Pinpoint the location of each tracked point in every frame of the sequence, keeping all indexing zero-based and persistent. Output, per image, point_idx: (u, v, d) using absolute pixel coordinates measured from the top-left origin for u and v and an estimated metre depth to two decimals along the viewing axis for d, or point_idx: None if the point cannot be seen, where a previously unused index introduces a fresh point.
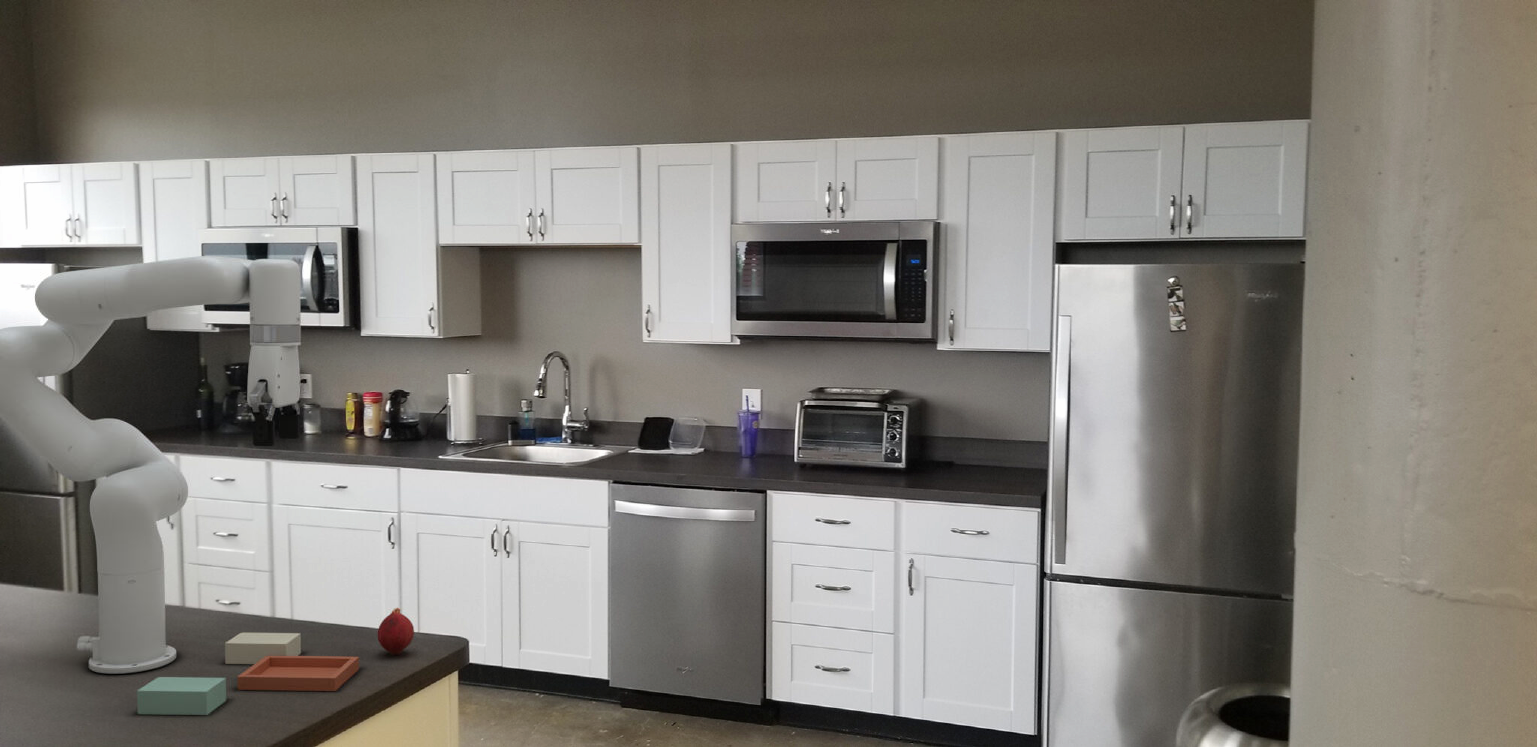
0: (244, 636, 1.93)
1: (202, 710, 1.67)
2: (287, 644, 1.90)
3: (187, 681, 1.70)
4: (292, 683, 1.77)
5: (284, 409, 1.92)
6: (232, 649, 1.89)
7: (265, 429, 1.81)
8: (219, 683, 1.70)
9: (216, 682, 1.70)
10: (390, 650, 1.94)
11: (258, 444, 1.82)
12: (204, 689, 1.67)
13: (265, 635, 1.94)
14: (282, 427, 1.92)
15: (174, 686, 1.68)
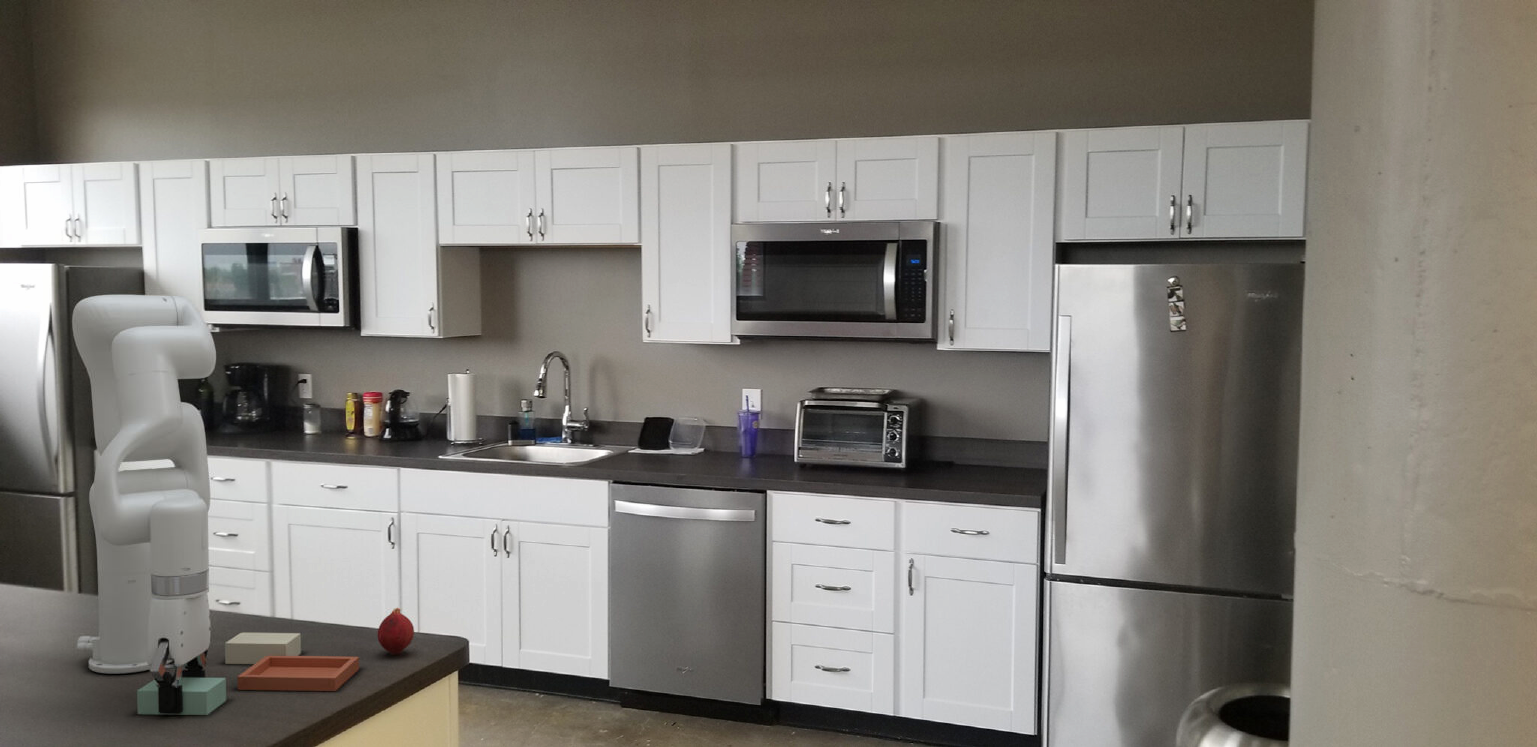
0: (244, 636, 1.93)
1: (202, 710, 1.67)
2: (287, 644, 1.90)
3: (187, 681, 1.70)
4: (292, 683, 1.77)
5: (188, 663, 1.73)
6: (232, 649, 1.89)
7: (172, 696, 1.65)
8: (219, 683, 1.70)
9: (216, 682, 1.70)
10: (390, 650, 1.94)
11: (164, 711, 1.66)
12: (204, 689, 1.67)
13: (265, 635, 1.94)
14: None
15: None
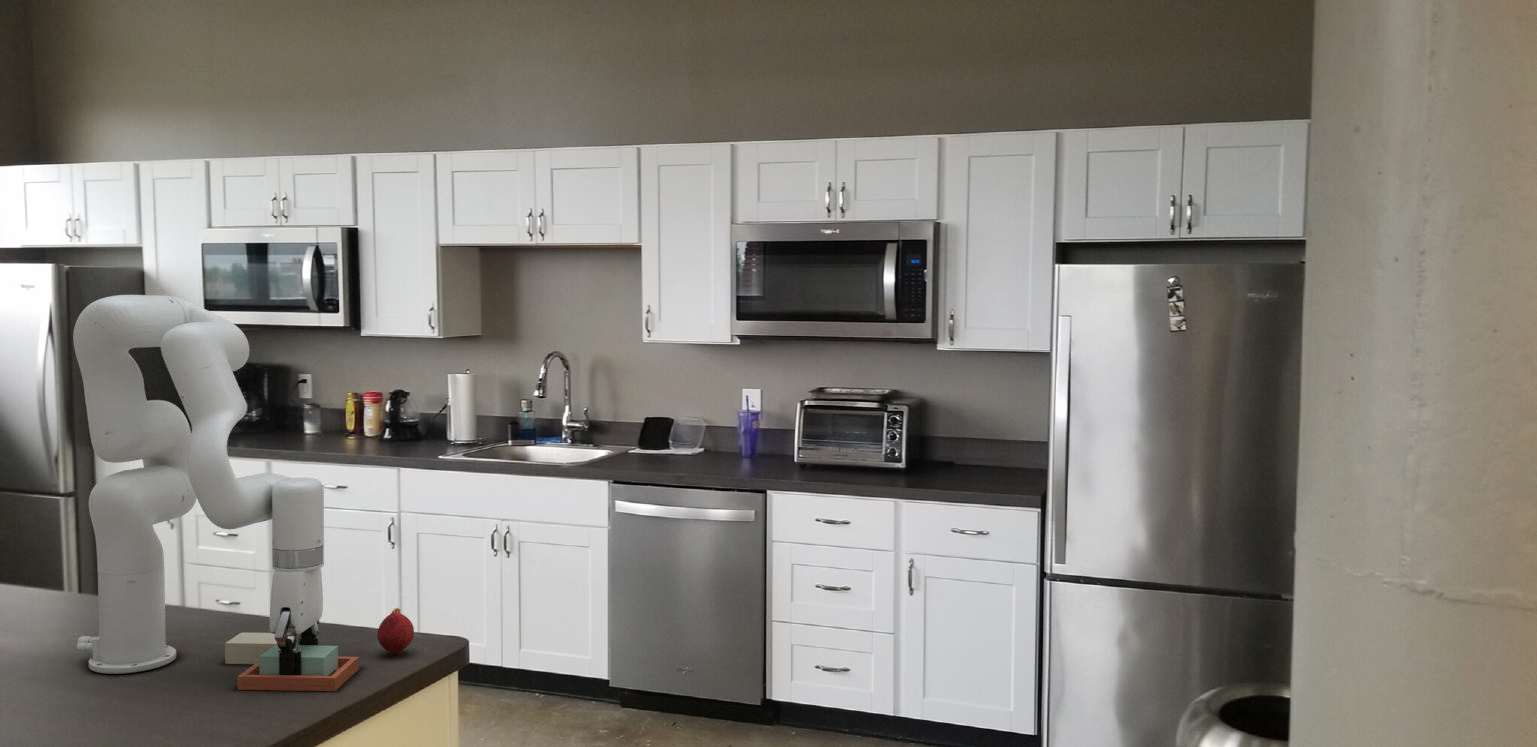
0: (244, 636, 1.93)
1: (319, 675, 1.80)
2: None
3: (303, 648, 1.83)
4: (292, 683, 1.77)
5: (303, 632, 1.86)
6: (232, 649, 1.89)
7: (292, 661, 1.78)
8: (333, 650, 1.83)
9: (331, 650, 1.83)
10: (390, 650, 1.94)
11: None
12: (321, 656, 1.80)
13: (265, 635, 1.94)
14: None
15: None
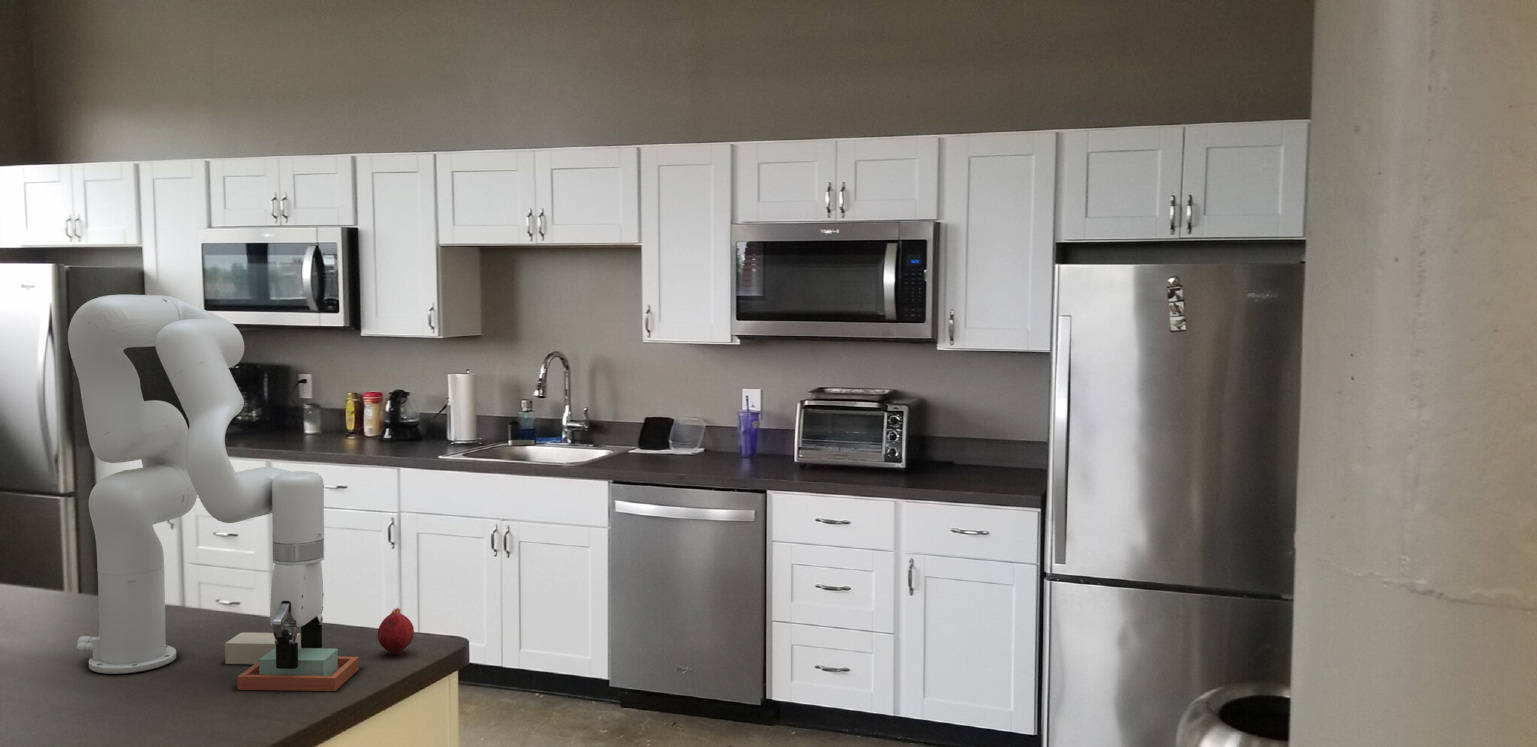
0: (244, 636, 1.93)
1: None
2: None
3: (302, 651, 1.83)
4: (292, 683, 1.77)
5: None
6: (232, 649, 1.89)
7: (289, 652, 1.77)
8: (333, 653, 1.83)
9: (330, 652, 1.83)
10: (390, 650, 1.94)
11: (281, 667, 1.77)
12: (321, 658, 1.80)
13: (265, 635, 1.94)
14: (304, 638, 1.87)
15: None
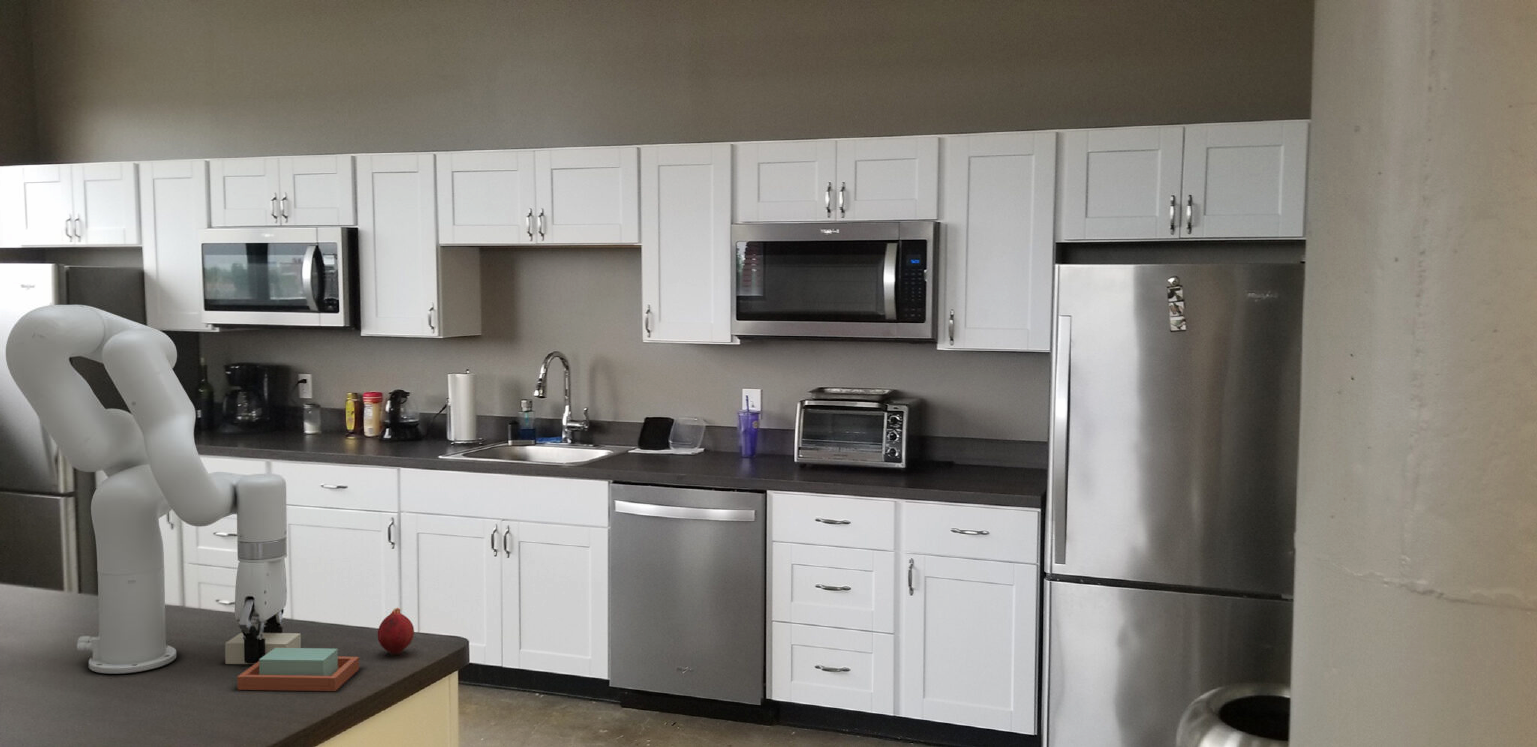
0: None
1: None
2: (287, 644, 1.90)
3: (302, 651, 1.83)
4: (292, 683, 1.77)
5: (268, 620, 1.96)
6: (232, 649, 1.89)
7: (256, 647, 1.88)
8: (333, 653, 1.83)
9: (330, 652, 1.83)
10: (390, 650, 1.94)
11: (249, 661, 1.89)
12: (321, 658, 1.80)
13: (265, 635, 1.94)
14: None
15: (292, 655, 1.81)
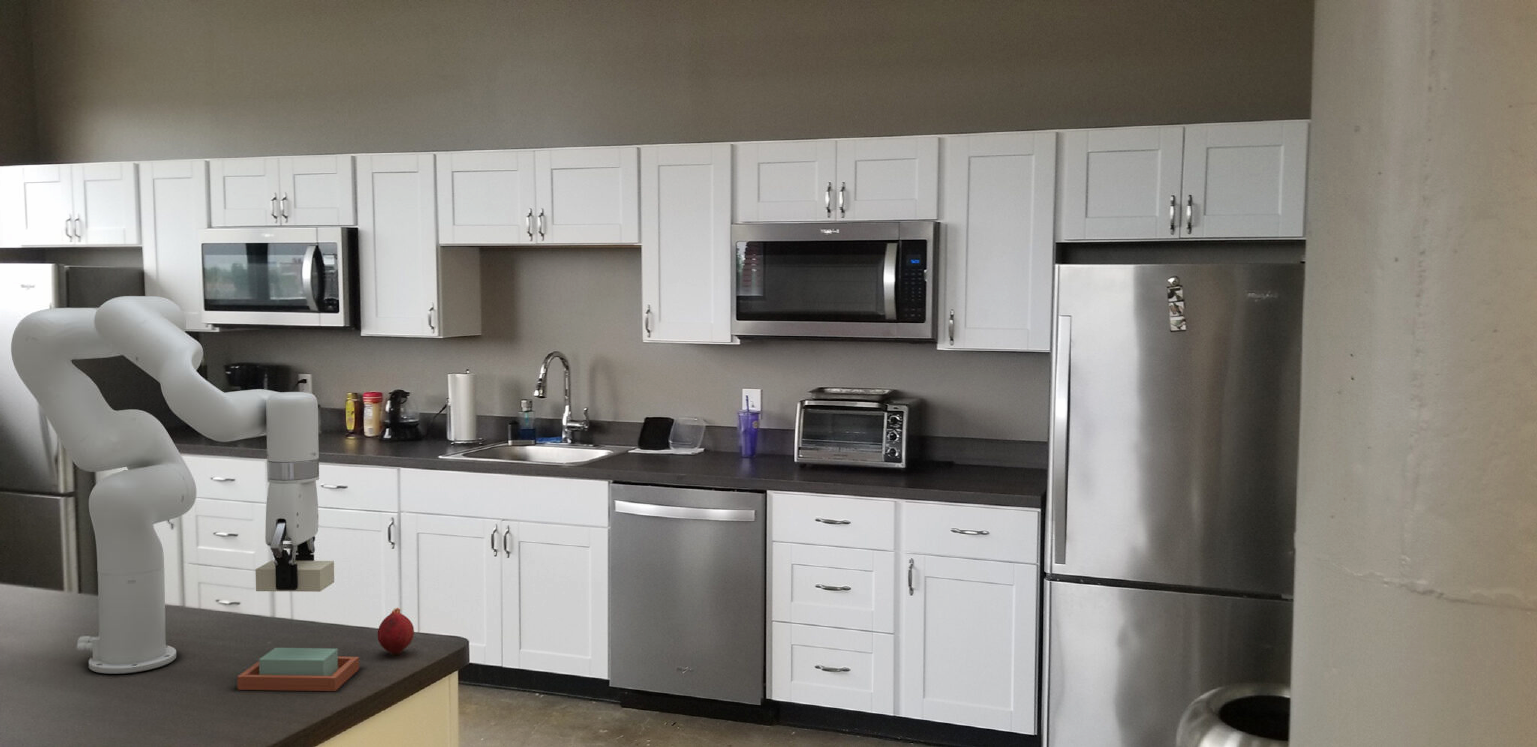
0: None
1: None
2: (321, 570, 1.80)
3: (302, 651, 1.83)
4: (292, 683, 1.77)
5: (299, 548, 1.86)
6: (263, 575, 1.80)
7: (288, 573, 1.78)
8: (333, 653, 1.83)
9: (330, 652, 1.83)
10: (390, 650, 1.94)
11: (281, 588, 1.79)
12: (321, 658, 1.80)
13: (296, 562, 1.84)
14: None
15: (292, 655, 1.81)
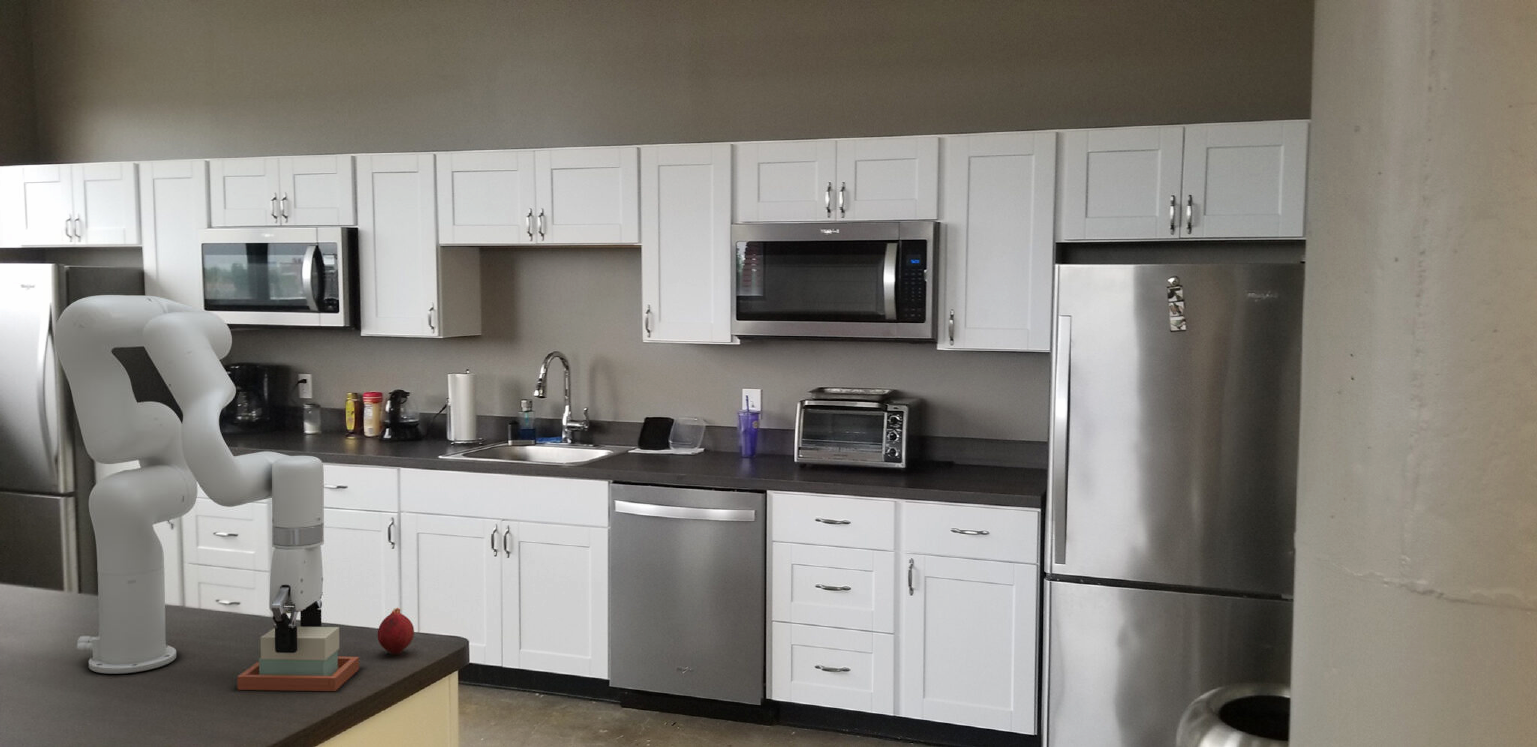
0: None
1: None
2: (326, 638, 1.80)
3: None
4: (292, 683, 1.77)
5: None
6: (268, 643, 1.79)
7: (288, 636, 1.76)
8: (333, 653, 1.83)
9: None
10: (390, 650, 1.94)
11: (280, 651, 1.77)
12: None
13: (302, 628, 1.84)
14: (304, 623, 1.87)
15: None
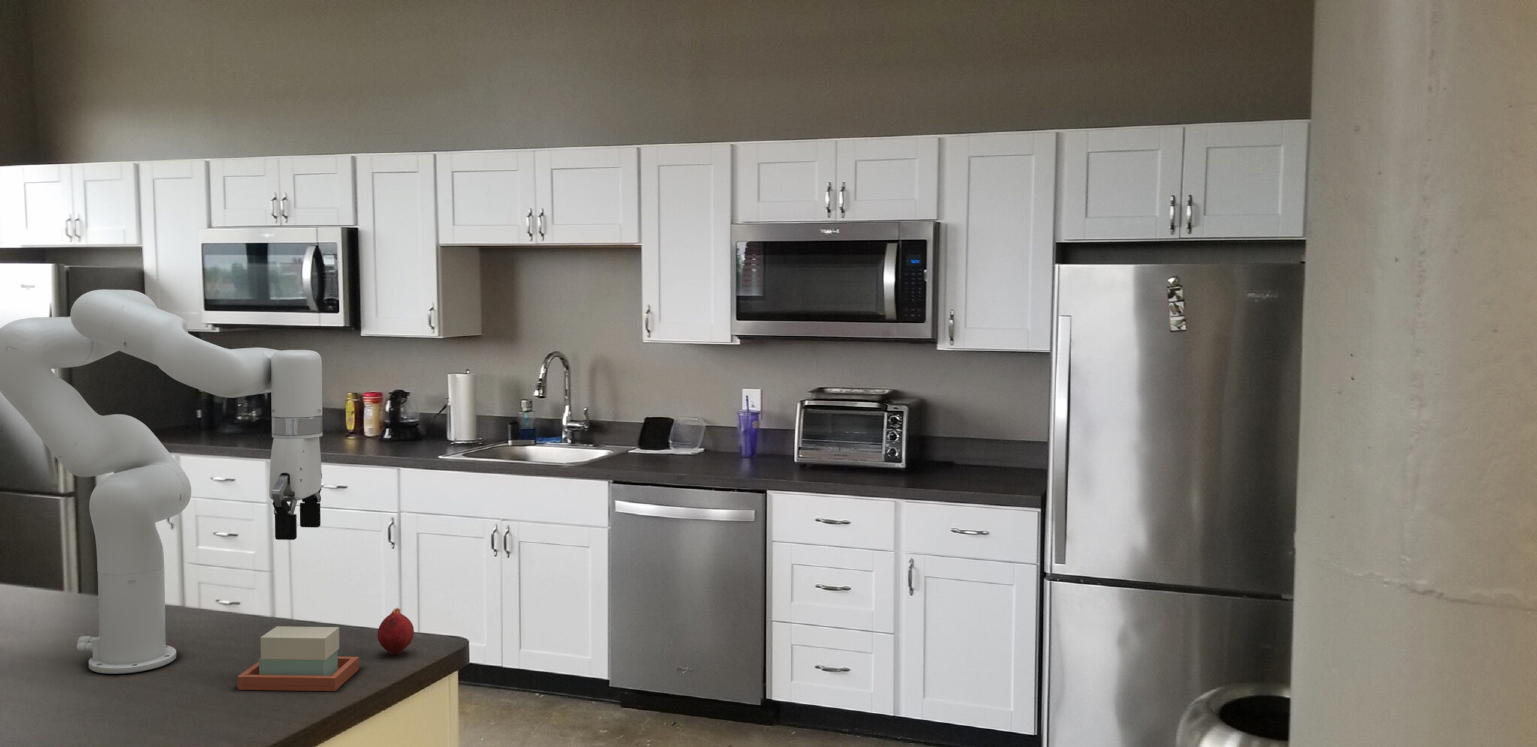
0: (280, 629, 1.83)
1: None
2: (326, 638, 1.80)
3: None
4: (292, 683, 1.77)
5: (305, 498, 1.91)
6: (268, 643, 1.79)
7: (287, 523, 1.80)
8: (333, 653, 1.83)
9: None
10: (390, 650, 1.94)
11: (280, 538, 1.81)
12: None
13: (302, 628, 1.84)
14: (303, 516, 1.91)
15: None
